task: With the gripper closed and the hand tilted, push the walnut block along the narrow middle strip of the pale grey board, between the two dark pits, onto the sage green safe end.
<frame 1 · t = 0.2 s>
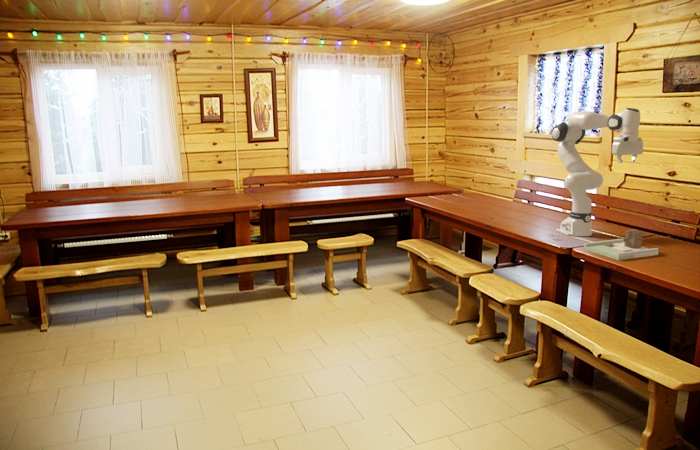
hand: (626, 162, 324), 48 cm above the table, tool pointing down, fingers open, 8 cm apart
walnut block: (632, 246, 323), point 2 cm above the table, touching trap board
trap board: (620, 251, 320), on the table
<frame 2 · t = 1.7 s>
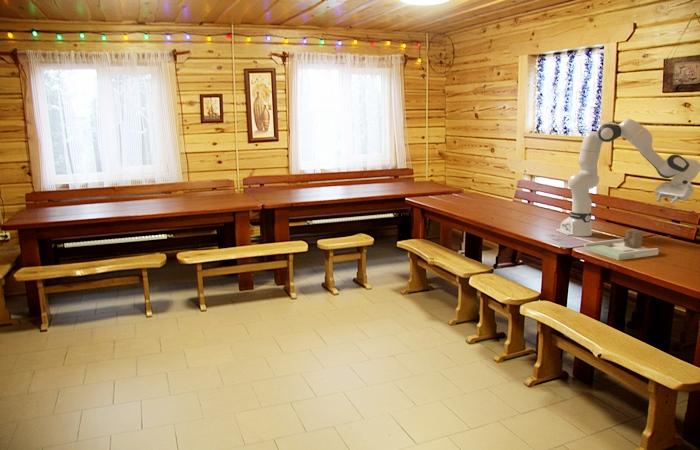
hand: (664, 202, 325), 26 cm above the table, tool tilted 45°, fingers open, 7 cm apart
nothing on the table moved.
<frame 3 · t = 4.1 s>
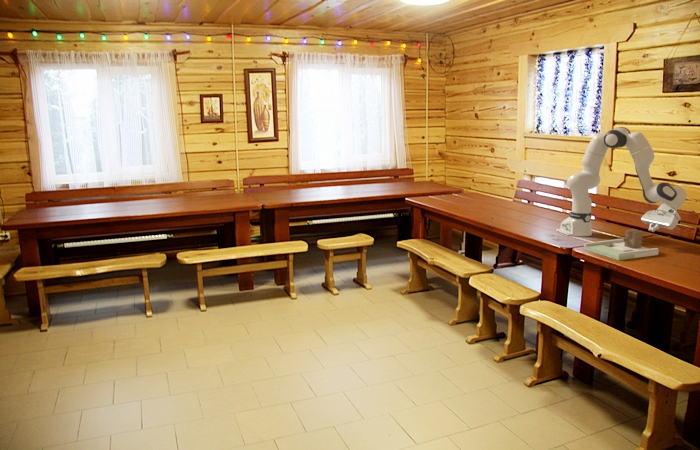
hand: (650, 230, 325), 10 cm above the table, tool tilted 45°, fingers closed
nothing on the table moved.
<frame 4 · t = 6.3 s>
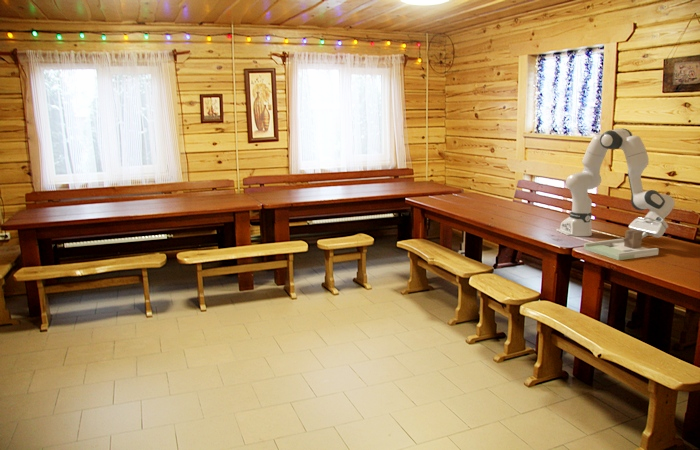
hand: (638, 238, 323), 6 cm above the table, tool tilted 45°, fingers closed, pressing on walnut block
walnut block: (632, 246, 322), point 2 cm above the table, touching gripper
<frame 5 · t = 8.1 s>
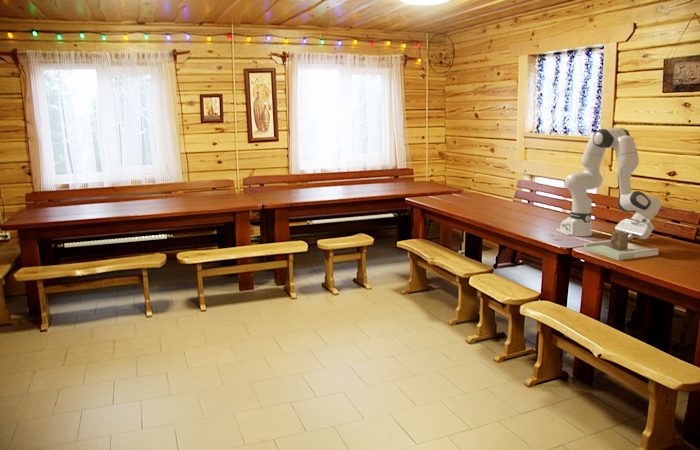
hand: (624, 240, 319), 6 cm above the table, tool tilted 45°, fingers closed, pressing on walnut block
walnut block: (618, 248, 319), point 2 cm above the table, touching gripper
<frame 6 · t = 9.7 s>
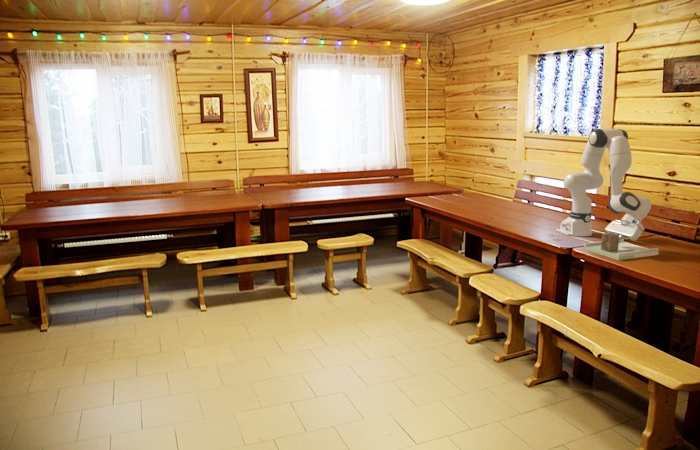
hand: (614, 241, 317), 6 cm above the table, tool tilted 45°, fingers closed, pressing on walnut block
walnut block: (609, 250, 316), point 2 cm above the table, touching gripper, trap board
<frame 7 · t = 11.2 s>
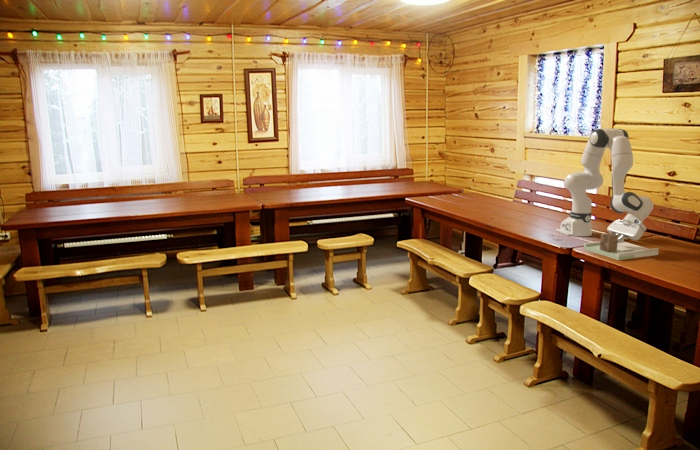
hand: (615, 241, 317), 6 cm above the table, tool tilted 45°, fingers closed
walnut block: (608, 250, 315), point 2 cm above the table, touching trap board
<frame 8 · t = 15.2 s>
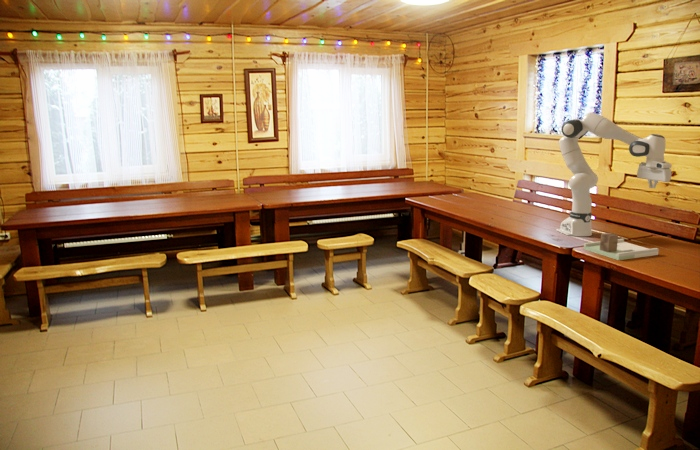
hand: (652, 187, 329), 33 cm above the table, tool pointing down, fingers closed
nothing on the table moved.
at the end: walnut block inside the target area on the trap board (1.4 cm from its centre), point 2.0 cm above the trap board's base; walnut block tilted 0° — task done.
